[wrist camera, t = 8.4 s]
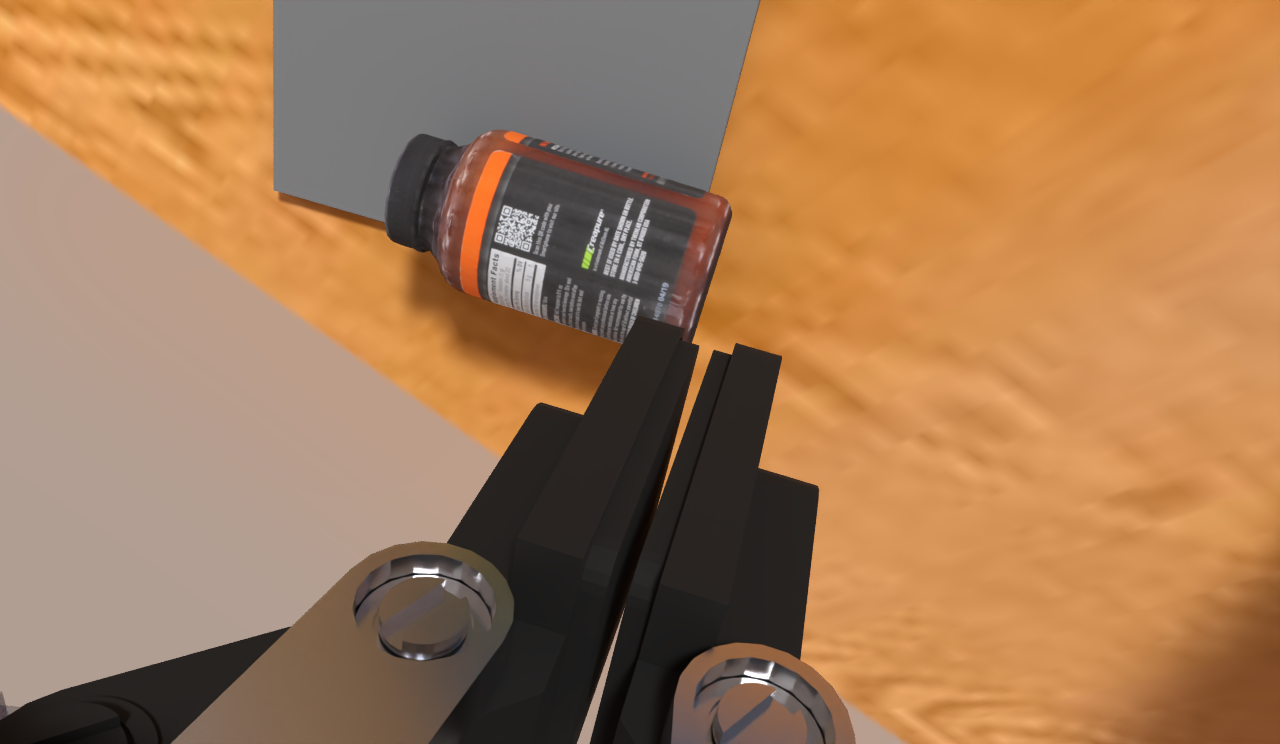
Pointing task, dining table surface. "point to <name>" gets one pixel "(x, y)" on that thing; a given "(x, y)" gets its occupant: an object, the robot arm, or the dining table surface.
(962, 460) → the dining table surface
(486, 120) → the mat
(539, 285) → the supplement bottle
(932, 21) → the dining table surface
